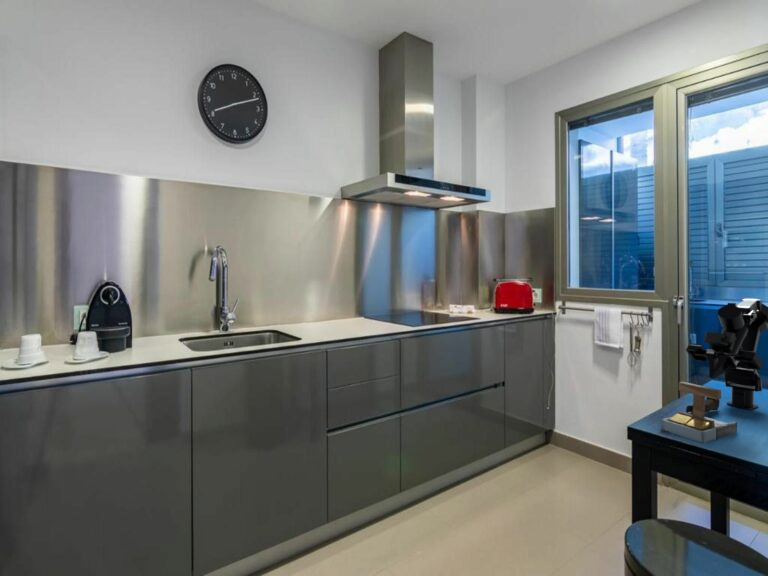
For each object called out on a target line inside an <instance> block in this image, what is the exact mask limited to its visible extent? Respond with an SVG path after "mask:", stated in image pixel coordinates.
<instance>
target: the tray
mask: <svg viewBox="0 0 768 576" xmlns="http://www.w3.org/2000/svg"><path fill="white" fill-rule="evenodd" d="M672 417H673V416H670V417H666V418H662V419H661V420H660V421H661V424H660V427H661V428H660V429H662V431H664V430H665V431H664V432H667V431H668V432H667V433H670V432H671V434H673V433H674V434H673V435H677V436H679V437H682V438H685V439H689V440H692V441H694V442H699V443H701V444H705V443H709V442H711V441H715V440H717V439H716V428H712V429H708V430H705V431H700V430H696V429H693V428H690V427H687V426H683V425H680V424H677V423H673V422H670V420H669V419H671V418H672Z"/></svg>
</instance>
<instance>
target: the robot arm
mask: <svg viewBox="0 0 768 576" xmlns="http://www.w3.org/2000/svg"><path fill="white" fill-rule="evenodd" d="M717 315H718V319H719V322H720V325H721V327H722V328H723V329H722V331H721V332H716V331H715V332H714V331H706V332H705V336H704V340H703V342H704V343H707V344H709V345H708V347H709V348H710V349H708V348H707V349H706V348H704V346H703V345H699V344H688V345H687V347H686V348H685V351H686V352H687V354H688V355H689V356H690V358H691V359H692V360H694V361H695V362H701V363H704V362H708V369H709V370H708V371H709V372H708V374H709V375H708V377H709V378H710V379H713V380H714V379H716V378H718V377H719V376H721V375H723V374H724V382H725V387H727V388H731V401H729V402H726V405H728V406H732V407H737V408H741V409H744V410H745V409H746V410H752V409H757V408H759V405H758V404H755V402H754V400H755V399H754V398H755V392H756V393H758V392H763V383H762V378H761V377H760V374H759V373H758V371H760V370H761V369H762V367H763V364H764V362H763V360H762V359H761V357H760V356H759V355H758V353H757V349H758V345H759V339H760V336H761V334H762V333H763V332H765V331H766V330H768V306H767V305H766V304H764V303H763V301H762V299H759V298H743V299H741V301H740V302H739V303H738V304H737V303H736V302H727V304H726V305H723V306H721V307H720V308H719V309H717Z"/></svg>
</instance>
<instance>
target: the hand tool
mask: <svg viewBox="0 0 768 576" xmlns="http://www.w3.org/2000/svg"><path fill="white" fill-rule="evenodd" d="M720 404H721V403H720V399H713V398H708V397H706V398H705V414H707V413H709V412H711V411H714V412H715V411H718V409H719V407H720ZM685 410H686V411H685V413H687V412H691V411H693V404H692V405H687V406H686V408H685Z"/></svg>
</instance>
